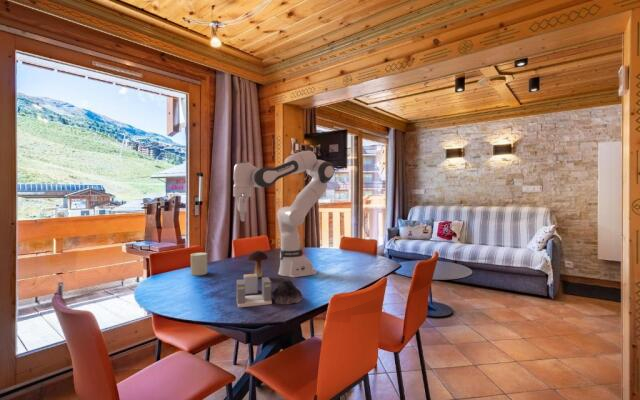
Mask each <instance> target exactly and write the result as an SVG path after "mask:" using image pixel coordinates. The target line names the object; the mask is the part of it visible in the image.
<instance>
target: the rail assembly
mask: <svg viewBox="0 0 640 400" xmlns="http://www.w3.org/2000/svg"><path fill="white" fill-rule="evenodd" d="M235 298H236V304H237V308H246V307H248V308H249V307H255V306H256V307H257V306H264V305H265V306H266V305H272V303H273V302H272V281H271V278H270V277H265V276H264V277H261V294H254V295H253V294H249V295H246V294H245V283H244V278H243V279H236V297H235Z"/></svg>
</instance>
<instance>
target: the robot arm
mask: <svg viewBox="0 0 640 400" xmlns="http://www.w3.org/2000/svg"><path fill="white" fill-rule="evenodd" d="M301 173H305V174H306V175H307V176H309V177H311V179H310V182H309V183H307V185H305V186H304V187H303V188H302V189H301V191H300V192H299V193H298V194H297V195H296V196H295V199H294V201H293V202H292V204H290V206H287V205H286V206H283V207H281V208H280V209H278V211H277V212H276V218H277V220H278V227H279V234H280V250H279V259H280V262H279V269H278V275H279V276H282V277H289V278H299V277H305V276H306V277H307V276H312V275H313V276H314V275H317V273H318V271H317V270H316V269H315V268H314V266H313V263H312V261H311V260H310V259H308V257H306V256H305V255H306V251H305V250H304V249H301V244H300V243H301V240H300V239H301V237H300V236H301V235H300V233H299V230H298V226H301V225H303V223H304V222H305V219H306V216H307V215H308V213H309V211H310V210H311V209H312V208H313V207H314V205H315V204H316V203H317V202H318V201H319V200H320V199H321V197H322V196H323V195H324V194H325V192H326V190H327V188H328V184H327V183H329V182H330V181H331V179H333V177H334V176H335V175H334V174H335V166H334V165H333V164H332V163H331V162H329V161H326V160H322V159H317V156H316V154H315V152H313V151H312V150H303V151H299V152H295V153H293V154H290V155H289V156H287V157H286V158H285V160H284V163H282V164H279V165H277V166H275V167H267V166H265V167H261V168H258V167H257V166H255V165H253V164H252V163H251V162H250V161H241V162H240V161H239V162H237V163H236V164H235V165H234V167H233V177H232V179H233V189H232V190H233V192H232V193H233V194H232V196H233V197H234V198H235V200H236V206H237V211H238V212H239V220H240V222H245V220H246V218H245V216H246V213H247V212H248V201H249V198H251V197H252V187H254V188H266V189H267V188H271V187H272V186H273V185H274V184H275V183H276V182H277V181H278V180H280V179H282V178H284V177H287V176H289V175H296V174H301Z"/></svg>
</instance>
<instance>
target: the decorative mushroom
mask: <svg viewBox="0 0 640 400" xmlns="http://www.w3.org/2000/svg"><path fill="white" fill-rule="evenodd" d="M268 259H269V257H268V255H267V253H265V252H264V251H261V250H255V251H253V253H251V254H249V256H248V257H247V260H249V261H254V262H255V263H254V272H253V274H257V276H258V279H260V278H262V276H263V265H262V261H265V260H268Z"/></svg>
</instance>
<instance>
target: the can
mask: <svg viewBox="0 0 640 400" xmlns="http://www.w3.org/2000/svg"><path fill="white" fill-rule="evenodd" d="M206 274H208V253H207V252H194V253H191V254H190V275H191V276H205V275H206Z"/></svg>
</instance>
